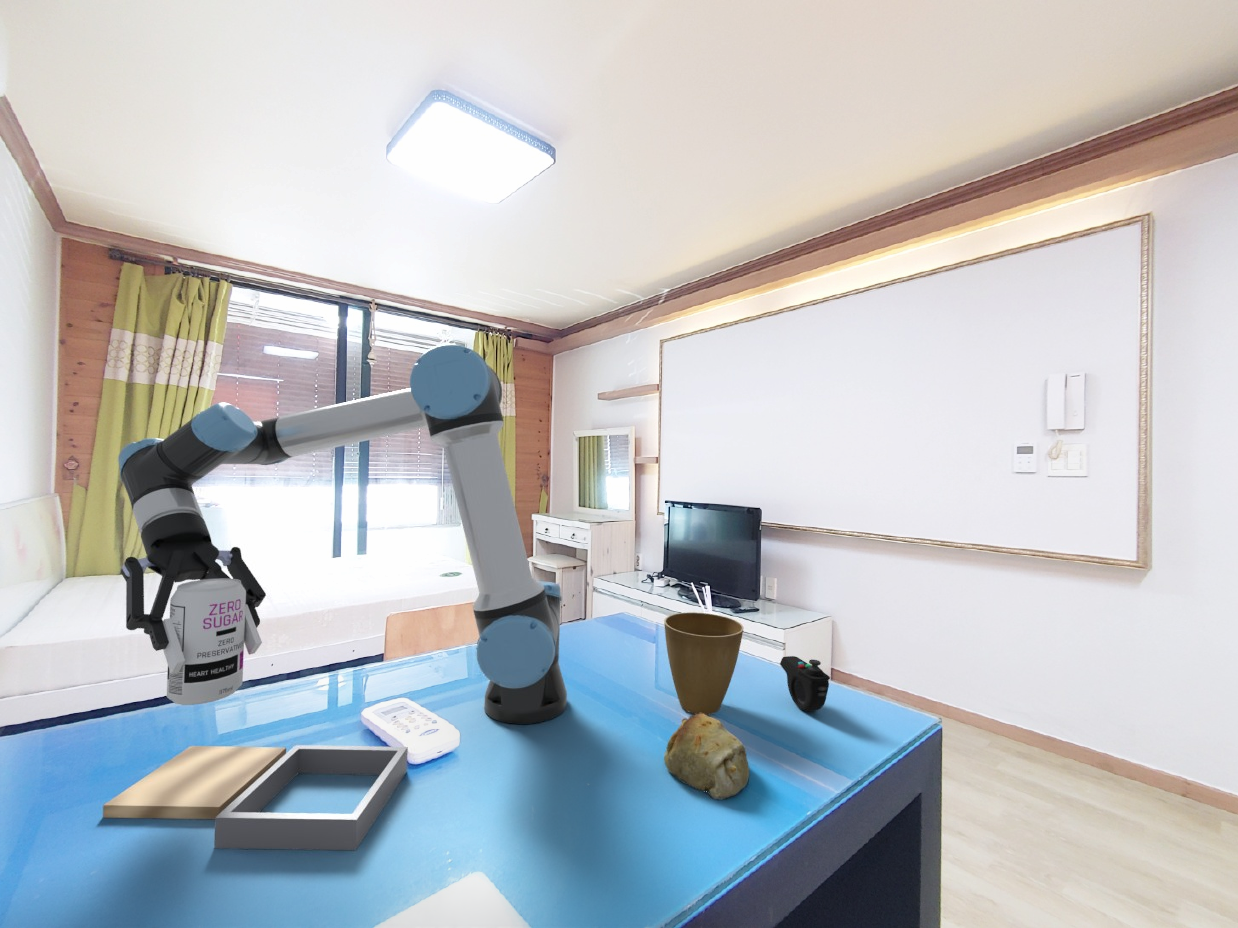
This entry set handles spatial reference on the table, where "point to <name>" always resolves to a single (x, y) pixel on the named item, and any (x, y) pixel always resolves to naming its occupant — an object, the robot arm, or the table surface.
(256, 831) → the bin
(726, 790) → the pastry
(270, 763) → the pad
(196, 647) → the supplement can
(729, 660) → the plant pot
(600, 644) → the table surface
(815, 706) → the controller
